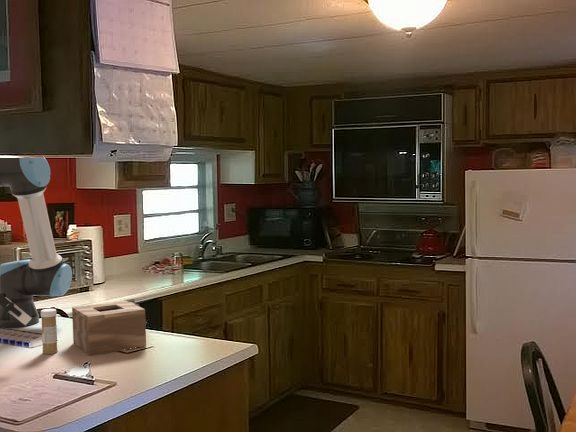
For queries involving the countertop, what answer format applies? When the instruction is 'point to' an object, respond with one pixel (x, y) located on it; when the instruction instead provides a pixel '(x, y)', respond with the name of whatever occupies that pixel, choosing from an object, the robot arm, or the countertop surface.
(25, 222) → the robot arm
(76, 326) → the walnut drop box
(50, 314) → the sprinkles bottle
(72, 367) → the countertop surface
